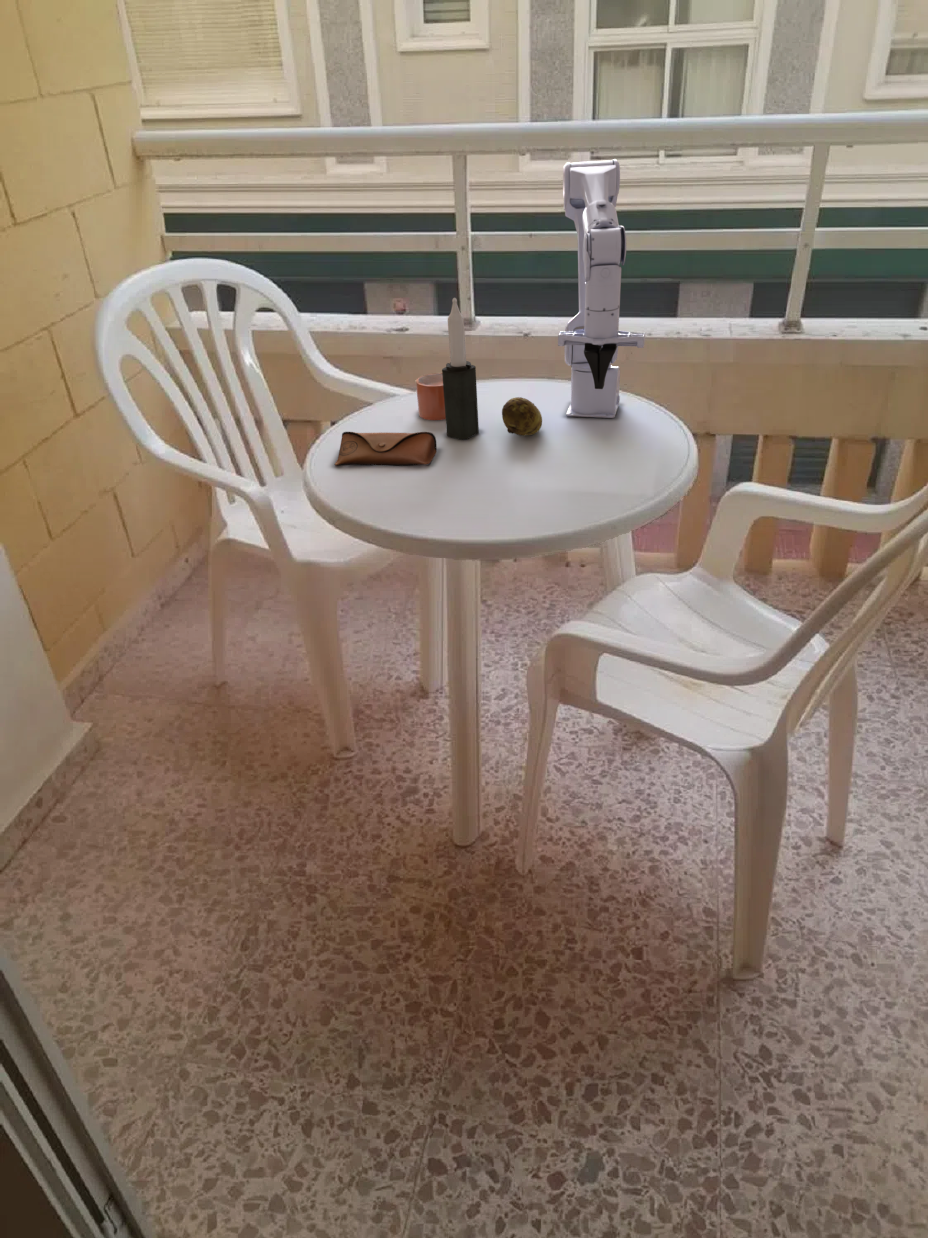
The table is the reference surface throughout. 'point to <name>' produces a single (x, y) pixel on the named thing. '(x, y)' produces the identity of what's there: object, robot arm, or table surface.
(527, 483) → the table surface
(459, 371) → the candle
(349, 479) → the table surface
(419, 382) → the flower pot
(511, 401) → the potato
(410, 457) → the sunglasses case
